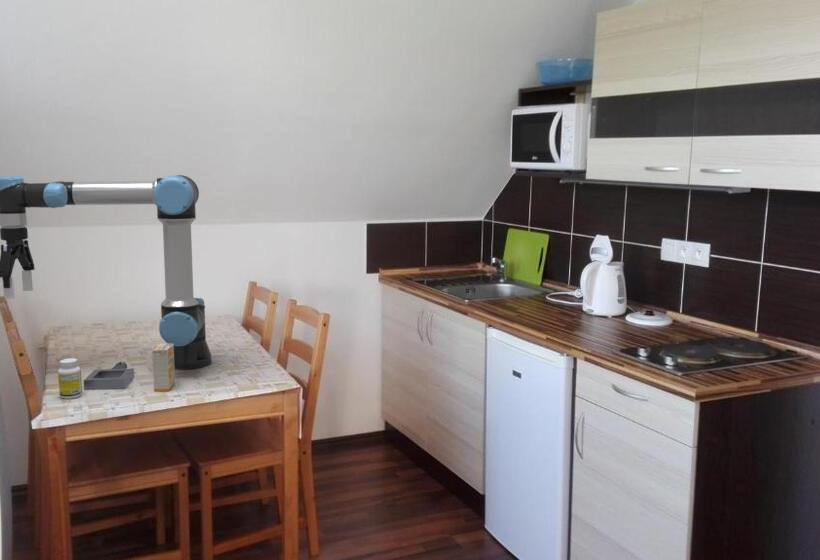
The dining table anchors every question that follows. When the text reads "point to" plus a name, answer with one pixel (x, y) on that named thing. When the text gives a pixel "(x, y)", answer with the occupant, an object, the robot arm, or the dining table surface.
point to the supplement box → (163, 367)
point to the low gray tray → (110, 378)
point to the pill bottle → (69, 379)
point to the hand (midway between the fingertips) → (18, 294)
